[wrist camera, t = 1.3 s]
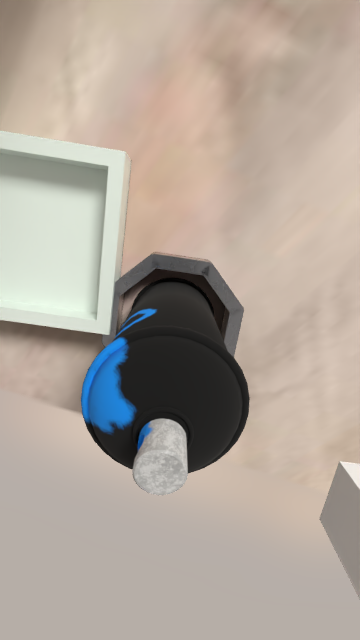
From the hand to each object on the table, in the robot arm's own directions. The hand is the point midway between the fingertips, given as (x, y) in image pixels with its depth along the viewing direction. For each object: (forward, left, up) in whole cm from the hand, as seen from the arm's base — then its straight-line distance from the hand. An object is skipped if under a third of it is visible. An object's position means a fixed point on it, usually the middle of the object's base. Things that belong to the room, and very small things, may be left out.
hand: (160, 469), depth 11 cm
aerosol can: (0, 0, -20) cm, 20 cm away
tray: (-6, -13, -19) cm, 24 cm away
